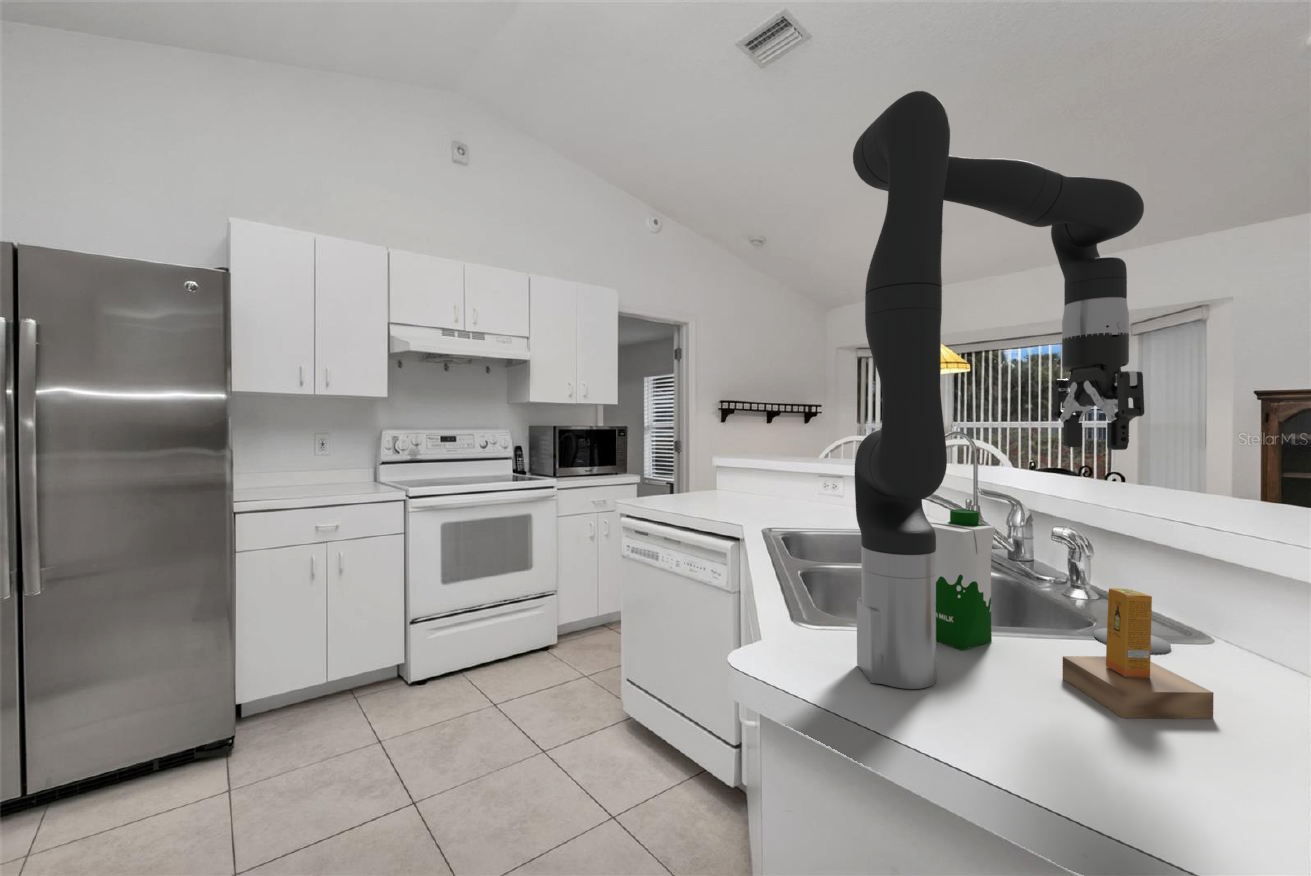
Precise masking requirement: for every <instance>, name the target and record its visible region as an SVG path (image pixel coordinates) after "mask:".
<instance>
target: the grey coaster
mask: <svg viewBox="0 0 1311 876" xmlns="http://www.w3.org/2000/svg"><path fill="white" fill-rule="evenodd" d="M1094 636H1096V638H1097V639H1098V640H1097V639H1096V638H1095V639H1096V640H1097V641H1099V642H1100V643H1103V644H1105V645H1107V627H1105V628H1104V627H1102V628H1097V629H1095V630H1094V631H1093V637H1094ZM1171 650H1172V645H1171V643H1169V642H1168V641H1167V640H1165V639H1163V638H1161V637H1159V636H1155V635H1152V634H1151V654H1165V653H1169V652H1171Z"/></svg>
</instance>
